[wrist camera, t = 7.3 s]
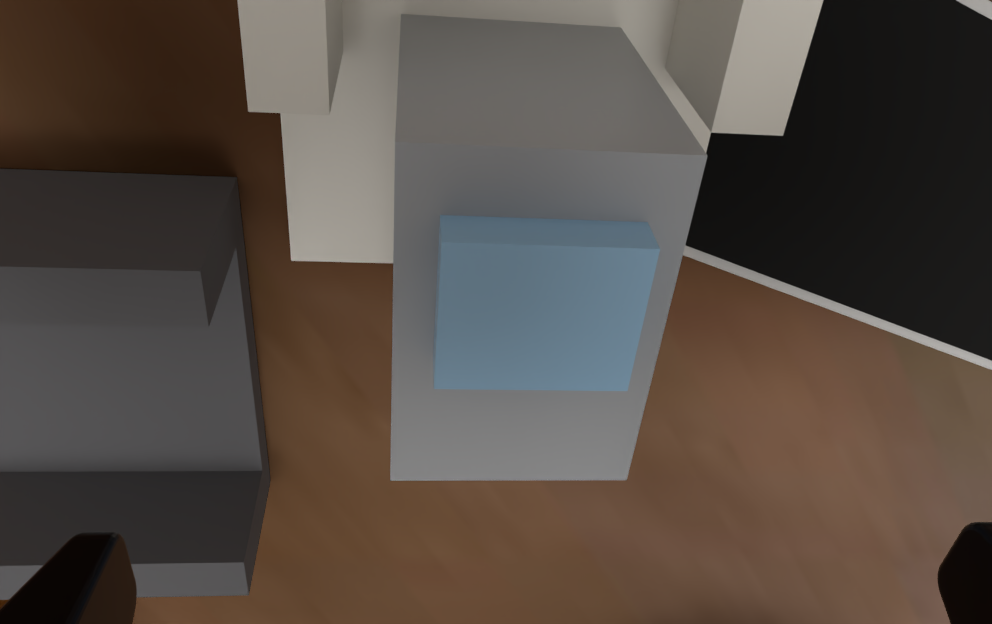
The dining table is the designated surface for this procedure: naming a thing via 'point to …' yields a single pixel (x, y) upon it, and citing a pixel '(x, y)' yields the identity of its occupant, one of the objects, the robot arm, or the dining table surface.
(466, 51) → the plug
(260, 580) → the dining table surface
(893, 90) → the smartphone
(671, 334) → the dining table surface
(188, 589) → the holster
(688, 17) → the port
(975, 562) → the robot arm
